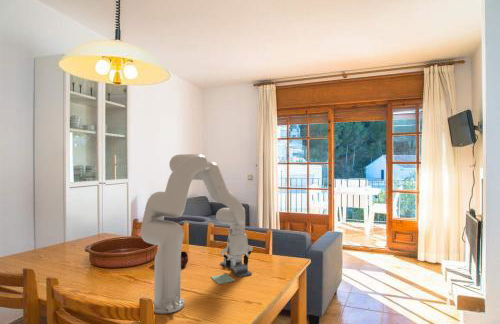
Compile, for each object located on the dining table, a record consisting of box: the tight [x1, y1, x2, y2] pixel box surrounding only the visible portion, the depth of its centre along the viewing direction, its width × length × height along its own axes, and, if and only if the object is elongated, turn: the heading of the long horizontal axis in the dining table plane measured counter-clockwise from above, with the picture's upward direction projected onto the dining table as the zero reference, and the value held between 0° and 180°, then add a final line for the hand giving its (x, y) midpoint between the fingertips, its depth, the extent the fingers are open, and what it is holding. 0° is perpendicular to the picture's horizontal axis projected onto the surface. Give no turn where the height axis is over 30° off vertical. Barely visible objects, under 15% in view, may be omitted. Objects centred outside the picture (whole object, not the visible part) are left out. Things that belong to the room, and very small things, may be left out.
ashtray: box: [153, 251, 189, 268], centre depth 161 cm, size 18×16×5 cm
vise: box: [220, 256, 253, 278], centre depth 153 cm, size 21×7×4 cm, turn 29°
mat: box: [210, 273, 236, 285], centre depth 140 cm, size 9×8×1 cm
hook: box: [229, 255, 243, 272], centre depth 153 cm, size 8×4×8 cm, turn 30°
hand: (237, 265), depth 151 cm, fingers open, 9 cm apart
